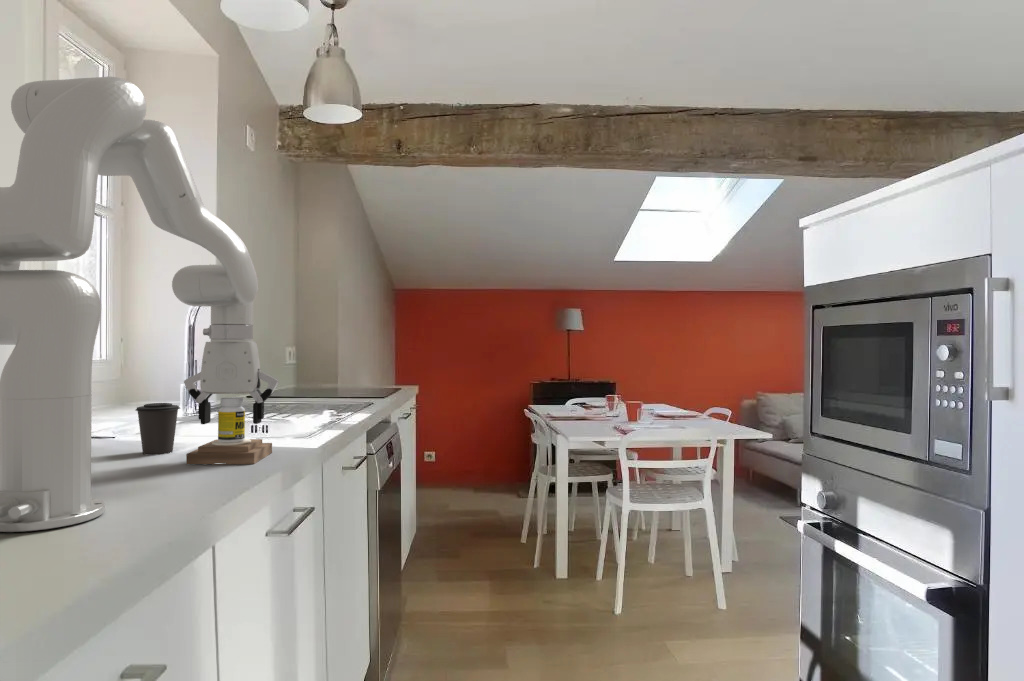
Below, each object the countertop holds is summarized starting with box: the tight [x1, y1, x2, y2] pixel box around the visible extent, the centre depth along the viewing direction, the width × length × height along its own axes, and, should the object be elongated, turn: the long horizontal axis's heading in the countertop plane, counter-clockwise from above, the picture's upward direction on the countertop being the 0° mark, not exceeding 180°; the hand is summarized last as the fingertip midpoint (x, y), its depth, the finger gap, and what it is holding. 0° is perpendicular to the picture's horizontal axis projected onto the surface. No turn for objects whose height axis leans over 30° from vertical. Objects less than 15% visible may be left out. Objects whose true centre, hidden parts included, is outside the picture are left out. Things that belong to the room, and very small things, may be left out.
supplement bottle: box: [217, 396, 246, 443], centre depth 125 cm, size 5×5×8 cm
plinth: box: [185, 438, 273, 465], centre depth 125 cm, size 12×12×3 cm
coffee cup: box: [135, 402, 181, 455], centre depth 132 cm, size 8×8×10 cm
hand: (231, 423), depth 125 cm, fingers open, 9 cm apart
